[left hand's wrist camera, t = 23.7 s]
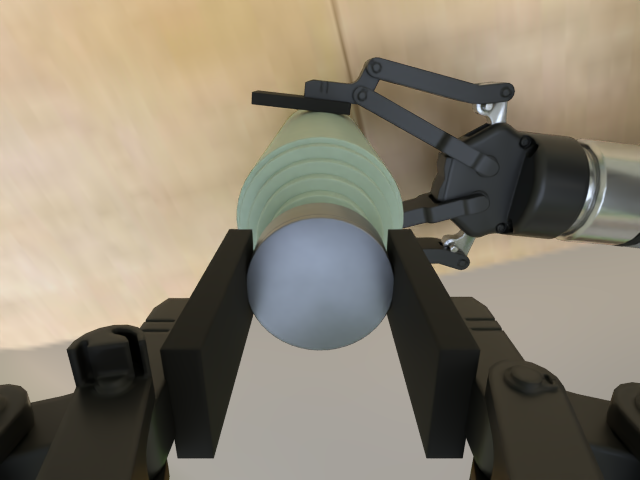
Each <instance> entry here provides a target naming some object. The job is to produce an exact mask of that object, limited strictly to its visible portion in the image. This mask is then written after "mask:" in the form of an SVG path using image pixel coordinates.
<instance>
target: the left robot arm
mask: <svg viewBox="0 0 640 480" xmlns="http://www.w3.org/2000/svg"><path fill="white" fill-rule="evenodd" d="M253 252H254V248H253V232H252V229H229V231H228V233H227V234H226V236H225V238H224V240H223V241H222V243H221V245H220V246H219V248H218V250H217V252H216V253H215V255H214V257H213V259H212V260H211V262H210V264H209V265H208V267H207V269H206V271H205V272H204V274H203V276H202V278H201V279H200V281H199V283H198V285H197V286H196V288H195V290H194V291H193V293H192V295H191V297H190V298H168V299H167V300H165V301H164V302H162V303H161V304H159V305H158V306H157V307H155V308H154V309H153V310H152V312H151V313H150V315H149V316H148V317H147V319H146V322H144V323H143V325H142V326H141V327H140V329H139V328H138V327H134V326H130V325H112V326H108V327H103V328H99V329H96V330H94V331H91V332H89V333H86V334H84V335H83V336H81V337H80V338H78V339H77V340H75V341H74V342H73V343H72V344H71V345H70V346H69V347H68V349H67V353H68V357H69V360H70V364H71V368H72V372H73V376H74V380H75V383H76V389H75V391H74V393H72V394H68V395H65V396H61V397H56V398H51V399H46V400H42V401H37V402H32V403H30V400H29V397H28V394H27V391H26V390H24V389H23V388H22V387H21V386H17V385H11V384H6V385H0V480H169V477H170V476H169V468H168V462H167V457H168V454H169V452H170V449H171V447H172V444H173V442H174V439H175V445H176V451H177V457H178V458H214V455H215V452H216V448H217V445H218V441H219V437H220V434H221V430H222V426H223V423H224V419H225V415H226V412H227V408H228V405H229V401H230V397H231V394H232V390H233V386H234V383H235V379H236V376H237V372H238V368H239V365H240V361H241V357H242V354H243V350H244V346H245V343H246V339H247V336H248V332H249V328H250V325H251V321H252V317H253V314H254V313H253V312H252V309H251V307H250V305H249V302H248V294H247V280H246V274H247V268H248V266H249V263H250V260H251V257H252V254H253ZM387 253H388V256H389V259H390V261H391V264H392V268H393V272H394V285H393V298H392V303H391V306H390V308H389V310H388V312H387V316H388V320H389V324H390V327H391V331H392V335H393V338H394V342H395V345H396V349H397V353H398V356H399V360H400V364H401V367H402V371H403V374H404V378H405V382H406V385H407V389H408V393H409V396H410V400H411V403H412V407H413V411H414V414H415V418H416V422H417V425H418V429H419V433H420V436H421V440H422V443H423V447H424V451H425V454H426V458H463V453H464V447H465V441H466V439H467V441H468V444H469V446H470V449H471V451H472V454H473V456H474V457H473V462H472V468H471V474H470V479H469V480H640V383H634V382H631V383H625V384H620V385H619V386H618V387H617V388H616V389H614V392H613V395H612V398H611V401H607V400H603V399H598V398H593V397H589V396H584V395H579V394H575V393H572V392H568V391H566V390H565V388H564V386H563V385H562V383H561V382H560V381H559V379H558V378H557V377H556V376H555V375H553V374H552V373H551V372H549V371H548V370H547V369H545V368H543V367H540V366H538V365H536V364H534V363H531V362H527V361H525V360H524V359H523V357H522V356H521V355H520V353H519V352H518V350H517V349H516V348H515V346H514V345H513V343H512V342H511V341H510V339H509V338H508V336H507V335H506V334H505V332H504V331H502V328H501V326H500V325H499V324H498V322H497V321H495V318H494V317H493V315H492V314H491V312H490V311H489V310H488V308H487V307H486V306H485V305H483V304H482V303H480V302H479V301H477V300H476V299H474V298H473V297H450V296H449V294H448V293H447V291H446V289H445V288H444V286H443V284H442V282H441V281H440V279H439V277H438V275H437V274H436V272H435V270H434V268H433V267H432V265H431V263H430V261H429V260H428V258H427V256H426V255H425V253H424V251H423V249H422V248H421V246H420V244H419V242H418V241H417V239H416V237H415V236H414V234H413V232H412V230H411V229H388V237H387Z"/></svg>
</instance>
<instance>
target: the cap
mask: <svg viewBox="0 0 640 480" xmlns="http://www.w3.org/2000/svg"><path fill="white" fill-rule="evenodd" d="M246 280H247V294H248V302H249V305H250V307H251V309H252V312H253V313H254V315H255V317H256V318H257V320H258V321H259V322H260V323H261V325H262V326H263V327H264V328H265V329H266V330H267V331H268V332H269V333H271V334H272V335H273V336H275V337H276V338H278V339H280V340H281V341H283V342H285V343H288V344H290V345H292V346H296V347H299V348H303V349H309V350H331V349H337V348H341V347H345V346H348V345H350V344H353V343H355V342H357V341H359V340H361V339H362V338H364V337H365V336H367V335H368V334H370V333H371V332H372V331H373V330H374V329H375V328H376V327H377V326H378V325H379V324H380V323H381V322H382V320H383V319H384V317H385V316H386V314H387V312H388V310H389V308H390V306H391V303H392V298H393V285H394V272H393V268H392V264H391V261H390V259H389V256H388V253H387V251H386V248H385V245H384V243H383V241H382V238H381V237H380V235H379V233H378V232H377V230H376V229H375V228H374V226H373V225H372V224H371V223H370V222H369V221H368V220H367V219H365V218H364V217H363V216H361V215H360V214H359V213H357V212H355V211H353V210H351V209H349V208H346V207H344V206H341V205H336V204H332V203H309V204H303V205H300V206H297V207H294V208H291V209H289V210H287V211H285V212H284V213H282V214H280V215H279V216H277V217H276V218H275V219H274V220H272V221H271V222H270V224H269V225H268V226H267V227H266V228H265V229H264V231H263V232H262V234H261V235H260V237H259V239H258V241H257V244H256V246H255V249H254V252H253V254H252V257H251V260H250V263H249V266H248V268H247V274H246Z"/></svg>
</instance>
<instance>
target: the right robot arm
mask: <svg viewBox="0 0 640 480" xmlns="http://www.w3.org/2000/svg"><path fill="white" fill-rule="evenodd" d="M379 80H383V81H387V82H390V83H394V84H398V85H401V86H405V87H409V88H412V89H416V90H420V91H423V92H427V93H431V94H434V95H438V96H442V97H446V98H449V99H453V100H457V101H462V102H467V103H472V109H473V111H474V112H475V113H477V114H481V115H484V116H485V117H486V120H487V123H486V124H484V125H482V126H480V127H478V128H476V129H475V130H473V131H471V132H469V133H467V134H465V135H464V136H462V137H460V138H458V139H457V138H455V137H453V136H452V135H450V134H448V133H446V132H444V131H443V130H441V129H439V128H437V127H436V126H434V125H432V124H430V123H429V122H427V121H425V120H423V119H422V118H420V117H418V116H416V115H415V114H413V113H411V112H409V111H408V110H406V109H404V108H402V107H401V106H399V105H397V104H395V103H394V102H392V101H390V100H388V99H387V98H385V97H383V96H381V95H380V94H378V93H376V92H375V91H374V90H375V88H376V86H377V84H378V82H379ZM514 92H515V90H514V87H513V85H512V84H510V83H502V82H487V83H478V84H473V83H469V82H465V81H462V80H458V79H455V78H451V77H447V76H444V75H440V74H436V73H433V72H429V71H426V70H422V69H418V68H415V67H411V66H408V65H404V64H400V63H397V62H393V61H389V60H386V59H382V58H377V57H375V58H371V59H369V60H367V61H366V62H365V64H364V67H363V69H362V71H361V73H360V75H359V77H358V79H357V80H356V81H355V82H353V83H348V84H347V83H338V82H330V81H321V80H311V81H307V82H305V93H304V96H302V95H293V94H284V93H276V92H267V91H254V92H252V104H255V105H264V106H273V107H282V108H290V109H299V110H308V111H317V112H326V113H334V114H343V115H350V108H351V104H358V105H360V106H362V107H364V108H365V109H367V110H369V111H371V112H373V113H374V114H376V115H378V116H380V117H381V118H383V119H385V120H387V121H389V122H390V123H392V124H394V125H396V126H397V127H399V128H401V129H403V130H405V131H406V132H408V133H410V134H412V135H413V136H415V137H417V138H419V139H421V140H422V141H424V142H426V143H428V144H429V145H431V146H433V147H435V148H436V149H438V150H440V151H442V153H440V152H439V155H438V160H437V175H436V177H435V179H434V181H433V184H432V188H431V192H430V193H426V194H422V195H419V196H418V197H417V198H415V199H411V200H407V201H403V202H402V204H403V227H402V228H406V227H410V226H414V225H418V224H422V223H436V222H440V221H444V220H448V219H450V220H451V221H453V222H454V223H455V224H456V225H457V226H458V227H459V228H460V231H459V232H458V233H457V234H454V235H444V236H443V237H442V239H438V238H427V237H424V238H416V239H417V241H418V242H419V244H420V246H421V248H422V249H423V251H424V253H425V255H426V256H427V258H428V260H429V261H430V263H431V264H433V263H439V264H442V265H445V266H449V267H452V268H455V269H458V270H463V269H466V268H467V267H468V266H469V264H470V260H469V258H468V257H467V254H468V252H469V250H470V248H471V246H472V244H473V242H474V240H475V238H476V237H482V236H484V235H487V234H491V233H499V234H506V235H515V236H525V237H535V238H544V239H552V238H556V239H559V240H562V241H571V242H583V243H595V244H607V245H614V246H625V247H634V248H640V145H634V144H625V143H617V142H609V141H600V140H592V139H577V140H575V139H574V138H571V137H566V136H557V135H549V134H540V133H531V132H522V131H517V130H515V129H514V128H513V127H512V126H510V125H509V124H507V123H506V113H507V101H509V100H510V99H512V97H513V96H514Z"/></svg>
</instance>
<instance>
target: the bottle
mask: <svg viewBox="0 0 640 480" xmlns="http://www.w3.org/2000/svg"><path fill="white" fill-rule="evenodd" d="M309 203H332V204H336V205H341V206H344V207H346V208H349V209H351V210H353V211H355V212H357V213H359V214H360V215H361V216H363V217H364V218H365V219H367V220H368V221H369V222H370V223H371V224H372V225H373V226H374V228H375V229H376V230H377V232H378V233H379V235H380V237H381V238H382V241H383V243H384V245H385V248H386V251H387V237H388V229H402V227H403V204H402V199H401V195H400V192H399V189H398V187H397V184H396V182H395V180H394V179H393V177H392V175H391V173H390V172H389V171H388V169H387V168H386V166H385V165H384V163H383V162H382V160H381V159H380V158H379V156H378V155H377V153H376V152H375V150H374V149H373V148H372V146H371V145H370V143H369V142H368V140H367V139H366V138H365V136H364V135H363V133H362V132H361V130H360V129H359V128H358V126H357V125H356V123H355V122H354V121H353V119H352V118H351V117H350V116H349V115H343V114H334V113H326V112H317V111H308V110H298V111H297V112H295V113H294V114H293V115H291V116H290V117H289V118H288V120H287V121H286V122H285V123H284V125H283V126H282V128H281V129H280V131H279V132H278V134H277V135H276V136H275V138H274V139H273V141H272V142H271V144H270V145H269V146H268V148H267V149H266V151H265V152H264V154H263V155H262V157H261V158H260V159H259V161H258V162H257V164H256V165H255V167H254V168H253V169H252V171H251V173H250V174H249V176H248V177H247V179H246V181H245V183H244V185H243V187H242V189H241V193H240V196H239V199H238V206H237V226H238V229H252V232H253V248H254V249H255V246H256V244H257V241H258V239H259V237H260V235H261V234H262V232H263V231H264V229H265V228H266V227H267V226H268V225H269V224H270V222H271V221H272V220H274V219H275V218H276V217H277V216H279V215H280V214H282V213H284V212H285V211H287V210H289V209H291V208H294V207H297V206H300V205H303V204H309Z"/></svg>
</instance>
